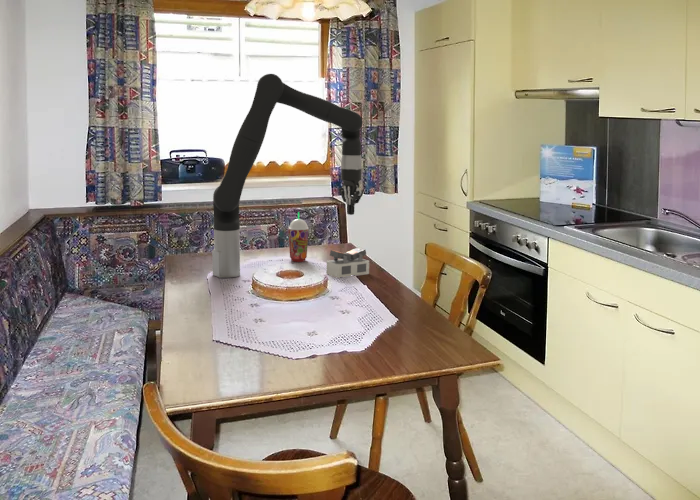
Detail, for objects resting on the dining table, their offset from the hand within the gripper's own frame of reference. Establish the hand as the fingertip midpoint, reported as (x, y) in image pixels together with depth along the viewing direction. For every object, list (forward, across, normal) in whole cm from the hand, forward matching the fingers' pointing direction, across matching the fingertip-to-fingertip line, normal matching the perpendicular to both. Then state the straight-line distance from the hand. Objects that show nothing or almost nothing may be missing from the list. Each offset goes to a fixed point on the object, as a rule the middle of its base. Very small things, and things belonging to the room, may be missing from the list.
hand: (350, 214), depth 254 cm
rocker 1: (+15, 0, -4) cm, 16 cm away
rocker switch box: (+23, 0, -1) cm, 23 cm away
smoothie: (+23, -30, -5) cm, 38 cm away
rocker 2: (+15, 0, +3) cm, 15 cm away
